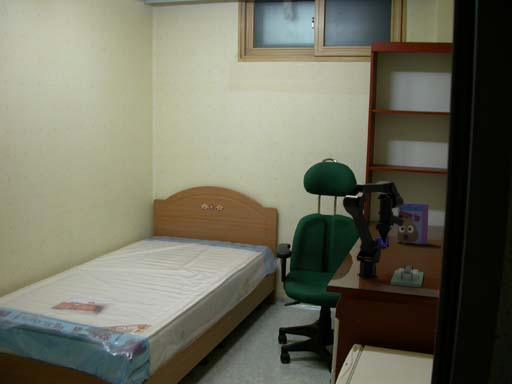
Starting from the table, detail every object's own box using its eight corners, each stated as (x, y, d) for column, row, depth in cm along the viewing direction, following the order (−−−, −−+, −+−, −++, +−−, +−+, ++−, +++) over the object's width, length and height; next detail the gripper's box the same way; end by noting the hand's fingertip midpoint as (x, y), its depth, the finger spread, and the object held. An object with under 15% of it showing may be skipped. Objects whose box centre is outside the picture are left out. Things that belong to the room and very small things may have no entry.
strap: (410, 274, 223) (410, 271, 223) (403, 273, 224) (403, 271, 224) (412, 268, 234) (412, 265, 234) (405, 267, 235) (405, 265, 235)
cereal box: (396, 243, 323) (398, 203, 321) (396, 241, 328) (398, 202, 326) (427, 244, 319) (428, 204, 318) (426, 243, 324) (427, 203, 322)
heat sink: (416, 280, 222) (416, 272, 222) (396, 278, 225) (397, 270, 224) (418, 274, 234) (418, 266, 234) (399, 272, 237) (399, 264, 237)
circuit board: (420, 287, 216) (421, 284, 216) (390, 284, 220) (390, 281, 220) (423, 274, 238) (423, 272, 238) (395, 272, 242) (395, 269, 242)
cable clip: (382, 249, 303) (382, 238, 303) (374, 248, 306) (375, 237, 305) (391, 246, 312) (391, 236, 312) (383, 245, 315) (384, 235, 315)
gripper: (402, 212, 230) (401, 248, 231) (405, 208, 247) (404, 241, 249) (376, 210, 234) (374, 246, 235) (381, 207, 251) (380, 239, 252)
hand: (384, 243), depth 242 cm, fingers closed
